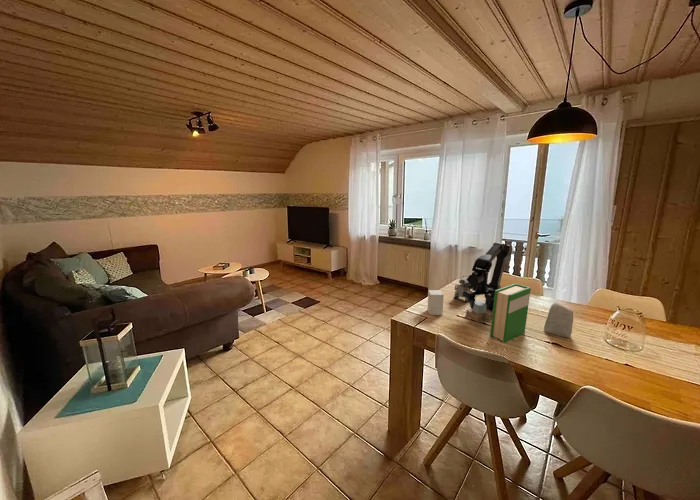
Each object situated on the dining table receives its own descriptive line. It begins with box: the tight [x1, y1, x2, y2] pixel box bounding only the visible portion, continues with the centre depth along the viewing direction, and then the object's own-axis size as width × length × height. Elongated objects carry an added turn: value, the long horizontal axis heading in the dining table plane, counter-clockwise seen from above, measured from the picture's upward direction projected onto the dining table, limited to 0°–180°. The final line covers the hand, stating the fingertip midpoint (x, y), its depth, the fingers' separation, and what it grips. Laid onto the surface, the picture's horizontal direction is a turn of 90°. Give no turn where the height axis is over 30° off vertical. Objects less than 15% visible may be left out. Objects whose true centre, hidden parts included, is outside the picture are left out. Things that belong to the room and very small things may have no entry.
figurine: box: [453, 275, 471, 303], centre depth 182 cm, size 9×12×15 cm
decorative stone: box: [543, 302, 574, 339], centre depth 139 cm, size 11×6×15 cm, turn 39°
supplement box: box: [427, 289, 445, 316], centre depth 164 cm, size 7×7×13 cm
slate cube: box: [472, 300, 487, 314], centre depth 157 cm, size 5×5×5 cm
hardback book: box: [489, 282, 532, 344], centre depth 137 cm, size 18×7×24 cm, turn 122°
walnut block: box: [465, 308, 492, 323], centre depth 158 cm, size 9×9×4 cm
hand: (479, 307), depth 157 cm, fingers open, 9 cm apart
